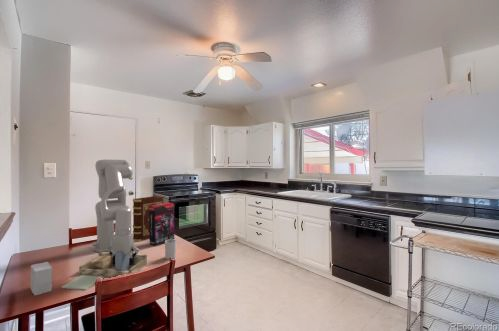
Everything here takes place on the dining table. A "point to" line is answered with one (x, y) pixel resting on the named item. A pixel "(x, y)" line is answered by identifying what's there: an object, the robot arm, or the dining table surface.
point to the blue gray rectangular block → (121, 261)
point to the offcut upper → (101, 261)
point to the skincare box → (41, 278)
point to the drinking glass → (170, 248)
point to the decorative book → (143, 216)
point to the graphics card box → (161, 223)
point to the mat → (81, 282)
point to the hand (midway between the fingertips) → (123, 264)
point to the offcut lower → (103, 267)
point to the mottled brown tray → (139, 264)
